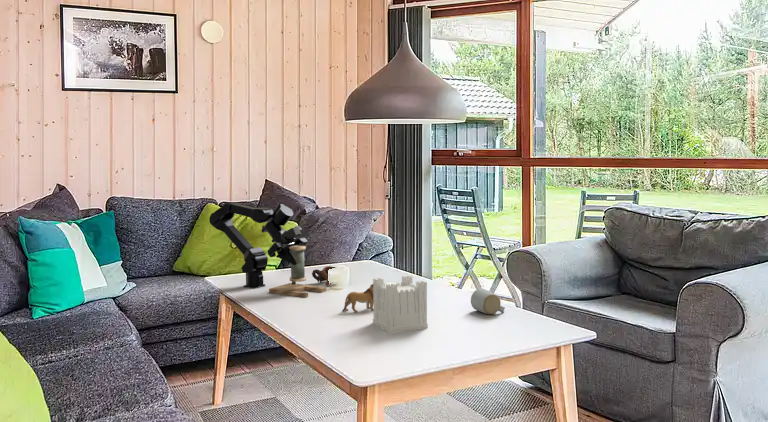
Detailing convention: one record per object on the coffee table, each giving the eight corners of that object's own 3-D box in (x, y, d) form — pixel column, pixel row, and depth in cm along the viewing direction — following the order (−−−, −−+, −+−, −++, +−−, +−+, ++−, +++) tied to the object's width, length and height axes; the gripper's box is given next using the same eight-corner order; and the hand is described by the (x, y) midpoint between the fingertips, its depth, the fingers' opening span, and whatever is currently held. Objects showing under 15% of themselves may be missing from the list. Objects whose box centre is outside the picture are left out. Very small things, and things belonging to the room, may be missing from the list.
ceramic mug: (483, 316, 217) (484, 293, 217) (469, 311, 224) (470, 289, 224) (510, 313, 222) (510, 291, 221) (495, 308, 229) (496, 286, 229)
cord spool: (287, 281, 254) (287, 248, 252) (291, 278, 260) (291, 245, 259) (304, 281, 253) (303, 248, 252) (307, 278, 259) (307, 245, 258)
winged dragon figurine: (338, 282, 280) (343, 266, 275) (336, 296, 272) (341, 280, 267) (311, 275, 278) (315, 260, 274) (307, 289, 270) (312, 273, 266)
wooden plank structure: (269, 292, 257) (268, 276, 257) (290, 286, 268) (290, 270, 268) (305, 297, 248) (305, 280, 247) (326, 291, 259) (326, 274, 258)
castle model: (372, 322, 211) (372, 278, 209) (414, 317, 217) (414, 274, 215) (389, 332, 199) (389, 285, 198) (433, 327, 205) (433, 281, 204)
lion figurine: (377, 306, 233) (376, 281, 232) (384, 309, 228) (384, 284, 227) (338, 311, 226) (338, 285, 225) (345, 314, 221) (345, 288, 220)
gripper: (272, 222, 249) (296, 253, 244) (303, 217, 264) (326, 246, 260) (257, 241, 253) (280, 272, 249) (288, 235, 269) (310, 264, 264)
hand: (300, 263), depth 255 cm, fingers closed on cord spool, 5 cm apart
